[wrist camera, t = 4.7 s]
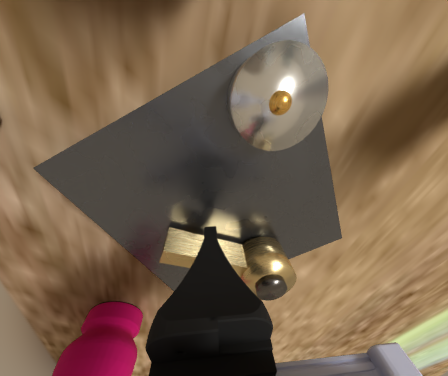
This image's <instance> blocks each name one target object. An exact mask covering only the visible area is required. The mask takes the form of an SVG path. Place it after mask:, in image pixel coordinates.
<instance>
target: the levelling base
mask: <svg viewBox="0 0 448 376" xmlns="http://www.w3.org/2000/svg"><path fill="white" fill-rule="evenodd" d="M327 96H328V77H327V72H326V69H325V66H324V64H323V62H322V60H321V58H320V57H319V56H318V54H317V53H316V52H315V51H314V50H313V49H312V48H310V45H309V39H308V33H307V27H306V21H305V15H304V14H302V15H300V16H299V17H297V18H295V19H293V20H292V21H290V22H288V23H286V24H285V25H283V26H281V27H279V28H278V29H276V30H274V31H272V32H271V33H269V34H267V35H265V36H264V37H262V38H260V39H258V40H257V41H255V42H253V43H251V44H250V45H248V46H246V47H244V48H243V49H241V50H239V51H237V52H236V53H234V54H232V55H230V56H229V57H227V58H225V59H223V60H222V61H220V62H218V63H216V64H215V65H213V66H211V67H209V68H208V69H206V70H204V71H202V72H201V73H199V74H197V75H195V76H194V77H192V78H190V79H188V80H187V81H185V82H183V83H181V84H180V85H178V86H176V87H174V88H173V89H171V90H169V91H167V92H166V93H164V94H162V95H160V96H159V97H157V98H155V99H153V100H152V101H150V102H148V103H146V104H145V105H143V106H141V107H139V108H137V109H136V110H134V111H132V112H130V113H129V114H127V115H125V116H123V117H122V118H120V119H118V120H116V121H115V122H113V123H111V124H109V125H108V126H106V127H104V128H102V129H101V130H99V131H97V132H95V133H94V134H92V135H90V136H88V137H87V138H85V139H83V140H81V141H80V142H78V143H76V144H74V145H73V146H71V147H69V148H67V149H66V150H64V151H62V152H60V153H59V154H57V155H55V156H53V157H52V158H50V159H48V160H46V161H45V162H43V163H41V164H39V165H38V166H36V167H34V168H33V169H35V170H36V171H37V172H38V173H39V174H40V175H41V176H43V177H44V178H45V179H46V180H47V181H48V182H49V183H51V184H52V185H53V186H54V187H55V188H56V189H57V190H59V191H60V192H61V193H62V194H63V195H64V196H66V197H67V198H68V199H69V200H70V201H71V202H72V203H74V204H75V205H76V206H77V207H78V208H79V209H80V210H82V211H83V212H84V213H85V214H86V215H87V216H88V217H90V218H91V219H92V220H93V221H94V222H95V223H97V224H98V225H99V226H100V227H101V228H102V229H103V230H105V231H106V232H107V233H108V234H109V235H110V236H111V237H113V238H114V239H115V240H116V241H117V242H118V243H119V244H121V245H122V246H123V247H124V248H125V249H126V250H127V251H129V252H130V253H131V254H132V255H133V256H134V257H136V258H137V259H138V260H139V261H140V262H141V263H142V264H144V265H145V266H146V267H147V268H148V269H149V270H150V271H152V272H153V273H154V274H155V275H156V276H157V277H158V278H160V279H161V280H162V281H163V282H164V283H165V284H166V285H168V286H169V287H170V288H171V289H172V290H173V291H175V290H176V288H177V287H178V286H179V284H180V283H181V282H182V280H183V279H184V277H185V276H186V274H187V272H188V271H189V269H190V268H187V267H181V266H176V265H170V264H165V263H159V261H160V257H161V253H162V250H163V246H164V242H165V238H166V235H167V232H168V230H169V227H171V228H175V229H179V230H183V231H187V232H191V233H196V234H200V235H204V227H210V226H216V230H217V239H221V240H225V241H229V242H233V243H237V244H241V245H242V244H244V243H245V242H246V241H248V240H250V239H253V238H256V237H264V236H265V237H271V238H274V239H276V240H277V241H278V242H279V243H280V244H281V246H282V248H283V250H284V252H285V254H286V256H287V258H288V259H290V258H293V257H295V256H298V255H300V254H303V253H306V252H308V251H311V250H313V249H316V248H318V247H321V246H323V245H326V244H328V243H331V242H333V241H336V240H338V239H341V238H342V235H341V229H340V223H339V217H338V211H337V205H336V199H335V193H334V188H333V182H332V176H331V170H330V164H329V158H328V152H327V146H326V140H325V134H324V128H323V122H322V114H323V111H324V109H325V105H326V102H327Z"/></svg>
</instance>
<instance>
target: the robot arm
mask: <svg viewBox="0 0 448 376" xmlns="http://www.w3.org/2000/svg"><path fill="white" fill-rule="evenodd" d="M272 330H273V325H272V321H271V319H270V316H269V314H268V312H267V309H266V308H265V306H264V304H263V302H262V301H261V300H260V299H259V298H258V297H257V296H256V295H255V294H254V293H253V292H252V291H251V290H250V288H249V287H248V286H247V285H246V284H245V283H244V281H243V280H242V279H241V278H240V277H239V275H238V274H237V273H236V271H235V270H234V269H233V267H232V266H231V264H230V263H229V261H228V259H227V258H226V256H225V254H224V252H223V250H222V248H221V246H220V244H219V242H218V239H217V230H216V226H210V227H204V240H203V243H202V245H201V248H200V250H199V252H198V254H197V256H196V258H195V260H194V262H193V264H192V266H191V268H190V269H189V271H188V272H187V274H186V276H185V277H184V279H183V280H182V282H181V283H180V284H179V286H178V287H177V288H176V290H175V291H174V292H173V294H172V295H171V296H170V297H169V299H168V300H167V301H166V302H165V303H164V304H163V305H162V307H161V308H160V309H159V310H158V311H157V314H156V316H155V318H154V320H153V323H152V326H151V329H150V331H149V335H148V339H147V343H146V352H147V354H148V356H149V358H150V360H151V362H152V363H151V368H150V373H149V376H423V375H422V374H421V373H420V372H419V370H418V369H417V368H416V366H415V365H414V364H413V362H412V361H411V360H410V358H409V357H408V356H407V354H406V353H405V352H404V351H403V349H402V348H401V347H400V345H399V344H398V343H386V344H378V345H374V346H372V347H370V348H369V349H368V351H367V353H361V354H352V355H343V356H335V357H326V358H317V359H309V360H300V361H291V362H283V363H275V361H274V357H273V353H272V350H273V348H272V343H271V339H270V338H271V334H272Z"/></svg>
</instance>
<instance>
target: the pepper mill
mask: <svg viewBox="0 0 448 376" xmlns="http://www.w3.org/2000/svg"><path fill="white" fill-rule="evenodd" d="M142 318H143V315H142V312H141V311H140V309H138V308H137V307H135V306H133V305H131V304H128V303H123V302H106V303H102V304H99V305H97V306H95V307H94V308H92V309H91V310H90V312H89V313H88V315H87V317H86V319H85V321H84V323H83V325H82V327H81V332H82V334H83V335H82V336H80V337H79V338H77V339H76V340H74V341H73V342H72V343H71V344H70V345H69V346H68V347H67V348H66V349H65V350H64V351H63V353H62V354H61V356H60V358H59V360H58V363H57V365H56V367H55V369H54V372H53V375H52V376H131V374H132V372H133V369H134V365H135V362H136V359H137V348H136V345H135V342H134V340H133V338H134V337H136V336H137V334H138V333H139V330H140V326H141V322H142Z"/></svg>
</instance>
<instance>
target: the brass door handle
mask: <svg viewBox="0 0 448 376" xmlns="http://www.w3.org/2000/svg"><path fill="white" fill-rule="evenodd" d="M203 240H204V235H200V234H196V233H191V232H187V231H183V230H179V229H175V228H171V227H169V230H168V232H167V235H166V238H165V242H164V246H163V250H162V253H161V257H160V261H159V263H165V264H170V265H176V266H181V267H187V268H191V266H192V264H193V262H194V260H195V258H196V256H197V254H198V252H199V250H200V248H201V245H202V243H203ZM218 242H219V244H220V246H221V248H222V250H223V252H224V254H225V256H226V258H227V259H228V261H229V263H230V264H231V266H232V267H233V269H234V270H235V271H236V273H237V274H238V275H239V277H240V278H241V279H242V280H243V281H244V283H245V284H246V285H247V286H248V287H249V288H250V290H251V291H252V292H253V293H254V294H255V295H256V296H257V297H258V298H259V299H260V300H274V299H277V298H279V297H281V296H283V295H284V294H285V293H286V292H288V291H289V290H290V289H291V288H292V287H293V286H294V284H295V282H296V274H295V272H294V270H293V268H292V266H291V264H290V262H289V260H288V258H287V256H286V254H285V252H284V250H283V248H282V246H281V244H280V243H279V242H278V241H277V240H276V239H274V238H271V237H265V236H264V237H256V238H253V239H250V240H248V241H246V242H245V243H244V244H242V245H241V244H237V243H233V242H229V241H225V240H221V239H218Z"/></svg>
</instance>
